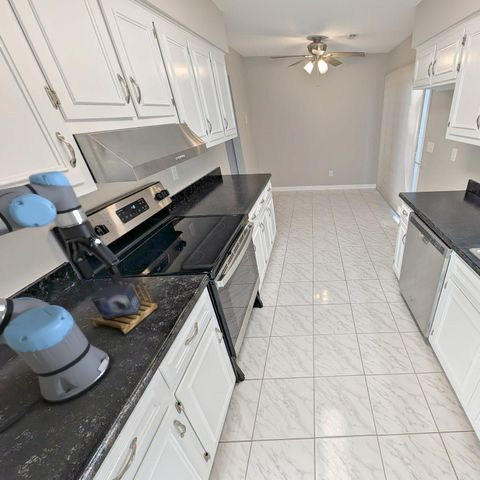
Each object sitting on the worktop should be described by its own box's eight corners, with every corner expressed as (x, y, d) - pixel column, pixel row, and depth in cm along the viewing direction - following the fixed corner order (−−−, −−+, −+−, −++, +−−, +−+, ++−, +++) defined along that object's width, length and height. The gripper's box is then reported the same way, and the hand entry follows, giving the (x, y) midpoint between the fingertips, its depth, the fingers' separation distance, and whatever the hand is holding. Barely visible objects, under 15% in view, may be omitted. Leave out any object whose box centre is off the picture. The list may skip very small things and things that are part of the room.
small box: (103, 321, 91) (89, 299, 86) (111, 309, 97) (98, 288, 92) (136, 314, 94) (124, 292, 89) (141, 303, 99) (131, 281, 94)
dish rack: (125, 334, 89) (112, 311, 84) (94, 326, 93) (80, 304, 88) (157, 306, 101) (147, 285, 96) (129, 301, 105) (118, 280, 100)
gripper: (114, 220, 78) (140, 277, 88) (60, 216, 85) (90, 268, 95) (89, 231, 72) (120, 290, 81) (32, 225, 78) (67, 280, 88)
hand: (104, 279), depth 88 cm, fingers open, 13 cm apart
